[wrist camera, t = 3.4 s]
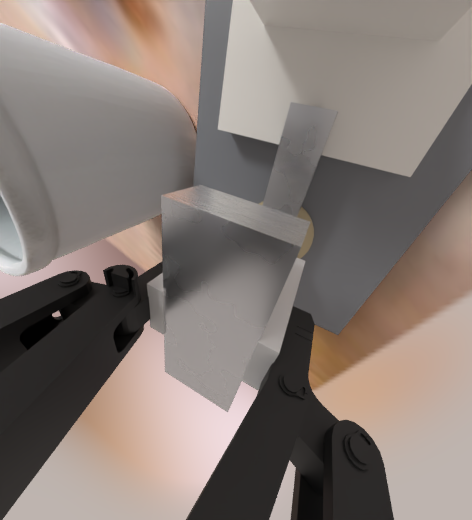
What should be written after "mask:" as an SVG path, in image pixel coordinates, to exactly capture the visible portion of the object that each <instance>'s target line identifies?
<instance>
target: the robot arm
mask: <svg viewBox="0 0 472 520" xmlns="http://www.w3.org/2000/svg"><path fill="white" fill-rule="evenodd" d="M304 264H305V261H304V260H302V259H299V258H296V260H295V262H294V265H293V267H292V269H291V271H290V274H289V276H288V278H287V280H286V283H285V285H284V287H283V289H282V292H281V294H280V296H279V298H278V301H277V303H276V305H275V307H274V310H273V312H272V314H271V316H270V319H269V321H268V323H267V325H266V327H265V330H264V332H263V334H262V336H261V339H260V340H258V342H257V345H256V347H255V349H254V351H253V354H252V356H251V358H250V361H249V363H248V365H247V367H246V370H245V372H244V374H243V377H242V379H241V381H243V382H245V383H246V384H248V385H250V386H251V387H253V388H255V389H257V390H258V389H259V391H258V394H257V397H256V399H255V400H254V402H253V404H252V406H251V407H250V409H249V411H248V412H247V414H246V416H245V418H244V419H243V421H242V423H241V425H240V426H239V428H238V430H237V432H236V433H235V435H234V437H233V439H232V440H231V442H230V444H229V446H228V448H227V449H226V451H225V453H224V454H223V456H222V458H221V460H220V461H219V463H218V465H217V466H216V468H215V470H214V472H213V474H212V475H211V477H210V479H209V481H208V482H207V484H206V486H205V487H204V489H203V491H202V493H201V494H200V496H199V498H198V500H197V501H196V503H195V505H194V506H193V508H192V510H191V512H190V513H189V515H188V517H187V519H186V520H269V518H270V515H271V512H272V509H273V506H274V503H275V501H276V498H277V494H278V492H279V489H280V486H281V483H282V480H283V477H284V474H285V471H286V468H287V465H288V462H289V460H290V461H291V462H292V463H293V465H294V466H295V467H296V472H295V482H294V492H293V503H292V512H291V520H394V518H393V512H392V507H391V501H390V496H389V490H388V484H387V479H386V473H385V468H384V463H383V460H382V457H381V454H380V451H379V450H378V448H377V446H376V444H375V442H374V441H373V439H372V438H371V437H370V436H369V434H368V433H367V432H366V431H365V430H364V429H363V428H362V427H360V426H359V425H357V424H356V423H355V422H352V421H349V420H342V421H339V420H337V419H336V418H335V417H334V416H333V415H332V414H331V413H330V412H329V411H328V410H327V409H326V408H325V407H324V406H323V405H322V404H321V403H320V402H319V401H318V399H317V398H316V396H315V395H314V393H313V392H312V389H311V387H310V384H309V380H308V371H309V363H310V356H311V348H312V340H313V332H314V325H315V324H314V321H313V318H312V315H311V314H310V313H308V312H305V311H303V310H301V309H299V308H297V307H294V306H293V303H294V300H295V296H296V293H297V289H298V286H299V282H300V279H301V275H302V272H303V268H304ZM103 272H104V276H105V280H106V284H107V285H105V284H100V283H94V282H91V280H90V277H89V275H88V274H87V273H86V272H83V271H67V272H64V273H61V274H58V275H56V276H53V277H51V278H49V279H46V280H44V281H42V282H39V283H37V284H35V285H32V286H30V287H28V288H25V289H23V290H21V291H18V292H16V293H14V294H11V295H9V296H7V297H4V298H2V299H0V520H2V519H3V518H4V517H5V515H6V514H7V512H8V511H9V510H10V508H11V507H12V506H13V505H14V503H15V502H16V500H17V499H18V498H19V496H20V495H21V494H22V493H23V491H24V490H25V488H26V487H27V486H28V485H29V483H30V482H31V481H32V479H33V478H34V477H35V475H36V474H37V473H38V471H39V470H40V469H41V467H42V466H43V465H44V463H45V462H46V461H47V459H48V458H49V457H50V455H51V454H52V453H53V451H54V450H55V449H56V447H57V446H58V445H59V443H60V442H61V441H62V439H63V438H64V437H65V435H66V434H67V432H68V431H69V430H70V428H71V427H72V426H73V425H74V423H75V422H76V421H77V419H78V418H79V417H80V415H81V414H82V412H83V411H84V410H85V409H86V407H87V406H88V405H89V403H90V402H91V401H92V399H93V398H94V397H95V395H96V394H97V393H98V391H99V390H100V389H101V387H102V386H103V385H104V383H105V382H106V381H107V379H108V378H109V377H110V375H111V374H112V373H113V371H114V370H115V369H116V367H117V366H118V365H119V363H120V362H121V361H122V359H123V358H124V357H125V355H126V354H127V353H128V351H129V350H130V349H131V347H132V346H133V345H134V343H135V342H136V341H137V339H138V338H139V337H140V335H141V334H142V332H143V330H144V324H145V323H146V322H147V321H148V320H150V326H151V327H152V328H153V329H155V330H157V331H158V332H160V333H162V334H164V333H165V313H164V290H163V261H162V262H161V263H159V264H157V265H156V266H154V267H153V268H151V269H149V270H148V271H146V272H145V273H143V274H142V275H140V276H139V277H138V273H137V271H136V269H135V268H133V267H131V266H127V265H116V266H112V267H108V268H107V269H105V270H103ZM58 310H59V312H60V314H61V316H59V317H53V316H52V314H53V313H55V312H56V311H58Z"/></svg>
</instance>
